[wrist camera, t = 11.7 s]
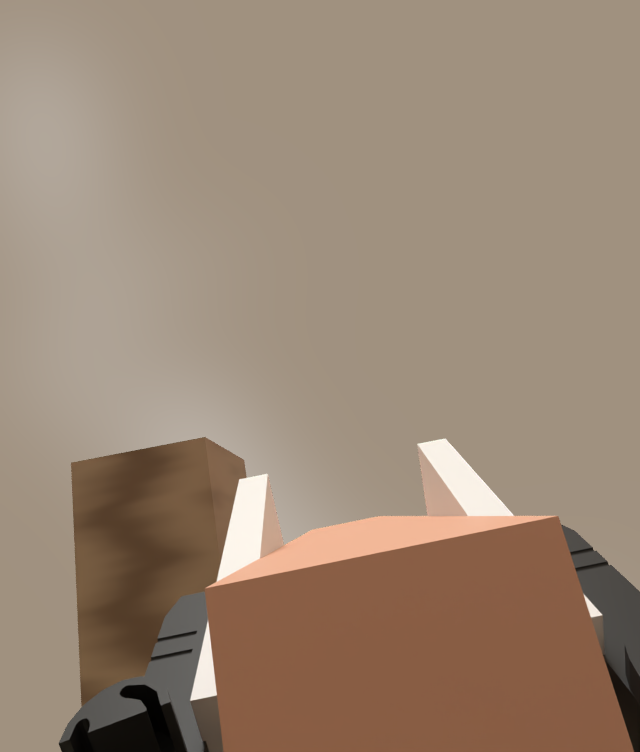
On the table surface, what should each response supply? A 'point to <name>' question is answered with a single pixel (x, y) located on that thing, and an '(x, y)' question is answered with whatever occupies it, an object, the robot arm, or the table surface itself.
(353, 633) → the bar
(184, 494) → the post
